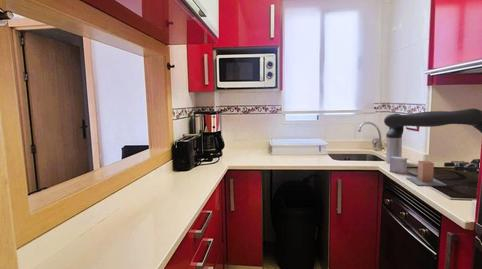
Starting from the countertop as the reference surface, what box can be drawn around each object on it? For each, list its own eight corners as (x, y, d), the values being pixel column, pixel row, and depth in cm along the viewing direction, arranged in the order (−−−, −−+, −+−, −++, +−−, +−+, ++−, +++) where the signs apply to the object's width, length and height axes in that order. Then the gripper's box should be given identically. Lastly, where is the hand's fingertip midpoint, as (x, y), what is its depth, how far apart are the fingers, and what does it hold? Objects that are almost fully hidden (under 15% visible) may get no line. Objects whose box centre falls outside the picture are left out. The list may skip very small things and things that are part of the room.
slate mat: (406, 178, 149) (406, 177, 149) (432, 178, 147) (432, 177, 147) (417, 185, 136) (417, 184, 136) (446, 185, 134) (446, 184, 134)
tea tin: (417, 179, 144) (418, 160, 143) (427, 179, 144) (428, 160, 142) (422, 182, 139) (423, 162, 138) (433, 182, 139) (433, 162, 138)
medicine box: (406, 172, 161) (407, 157, 160) (404, 173, 159) (404, 159, 158) (392, 170, 167) (392, 156, 166) (389, 171, 164) (389, 157, 164)
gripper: (475, 156, 143) (441, 156, 146) (496, 162, 129) (458, 162, 132) (475, 170, 144) (441, 170, 147) (495, 177, 130) (457, 177, 133)
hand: (449, 166), depth 139 cm, fingers open, 8 cm apart
